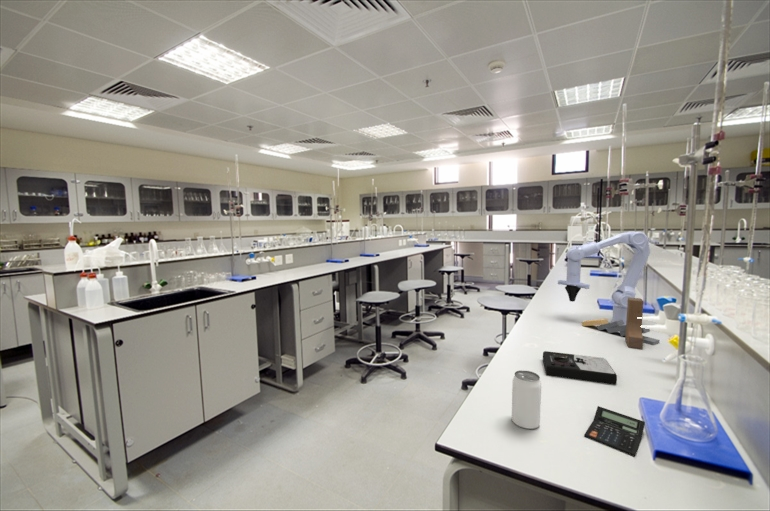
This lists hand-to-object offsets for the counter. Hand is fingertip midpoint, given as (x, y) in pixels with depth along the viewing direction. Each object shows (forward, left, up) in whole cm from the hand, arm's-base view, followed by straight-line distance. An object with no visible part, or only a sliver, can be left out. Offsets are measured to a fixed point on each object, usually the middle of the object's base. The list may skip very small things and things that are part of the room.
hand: (572, 301), depth 159 cm
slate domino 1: (-1, +14, -9) cm, 16 cm away
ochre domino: (-1, +6, -9) cm, 11 cm away
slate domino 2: (-1, +18, -9) cm, 20 cm away
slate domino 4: (-1, +26, -10) cm, 27 cm away
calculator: (+73, +58, -11) cm, 94 cm away
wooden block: (+8, +31, -10) cm, 33 cm away
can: (+87, +45, -10) cm, 98 cm away
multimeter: (+49, +34, -11) cm, 61 cm away
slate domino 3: (-1, +22, -9) cm, 24 cm away
